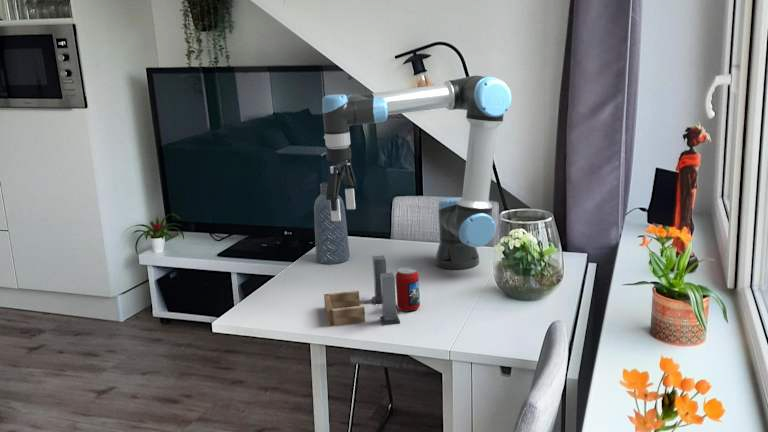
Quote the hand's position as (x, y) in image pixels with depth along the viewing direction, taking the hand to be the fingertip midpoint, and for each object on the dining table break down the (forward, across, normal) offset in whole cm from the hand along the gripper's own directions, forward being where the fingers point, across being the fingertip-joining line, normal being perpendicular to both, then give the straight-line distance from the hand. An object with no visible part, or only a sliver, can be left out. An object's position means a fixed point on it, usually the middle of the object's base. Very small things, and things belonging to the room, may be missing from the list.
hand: (343, 214), depth 235 cm
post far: (+26, +5, +12) cm, 29 cm away
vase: (+26, -33, -18) cm, 46 cm away
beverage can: (+26, +9, +22) cm, 35 cm away
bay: (+26, +17, +4) cm, 31 cm away
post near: (+26, +20, +19) cm, 38 cm away
